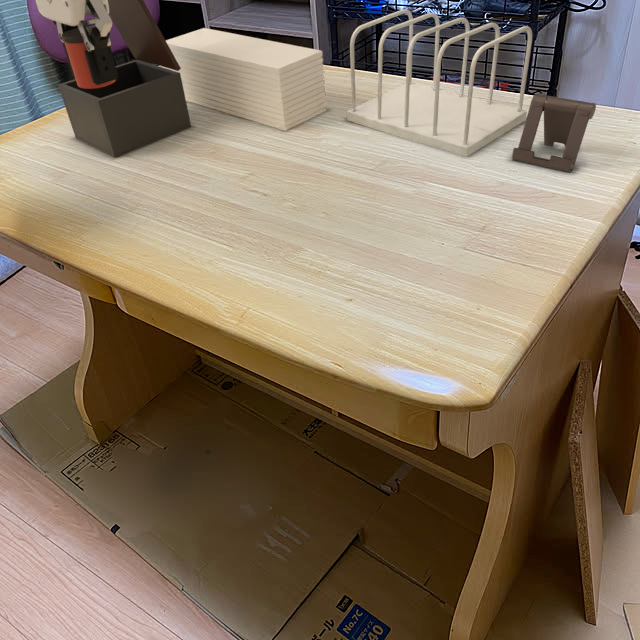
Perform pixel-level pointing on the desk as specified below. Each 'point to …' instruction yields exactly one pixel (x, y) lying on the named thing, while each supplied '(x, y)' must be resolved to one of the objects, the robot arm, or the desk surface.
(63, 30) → the robot arm
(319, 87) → the stack of papers
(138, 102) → the brown hinged lid box
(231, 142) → the desk surface
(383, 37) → the file sorter
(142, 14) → the brown box lid
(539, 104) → the tablet stand
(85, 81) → the container
